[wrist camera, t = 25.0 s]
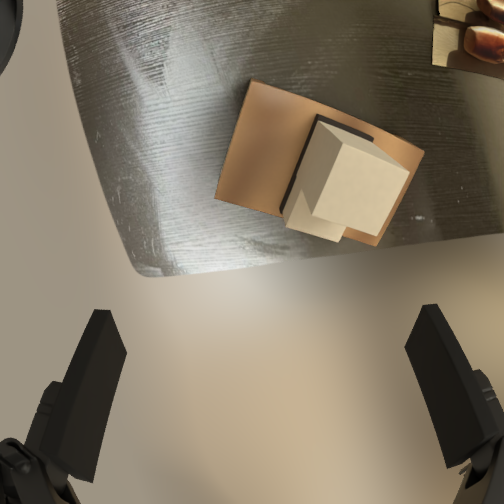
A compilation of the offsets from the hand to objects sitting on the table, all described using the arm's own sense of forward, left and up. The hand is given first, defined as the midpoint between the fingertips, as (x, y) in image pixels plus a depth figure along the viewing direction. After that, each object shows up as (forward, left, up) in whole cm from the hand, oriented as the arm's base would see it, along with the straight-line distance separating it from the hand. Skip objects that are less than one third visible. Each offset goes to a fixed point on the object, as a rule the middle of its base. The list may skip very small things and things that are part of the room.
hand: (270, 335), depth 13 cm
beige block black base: (+7, -1, -23) cm, 24 cm away
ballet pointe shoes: (+35, +20, -29) cm, 50 cm away
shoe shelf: (+7, -1, -29) cm, 30 cm away
